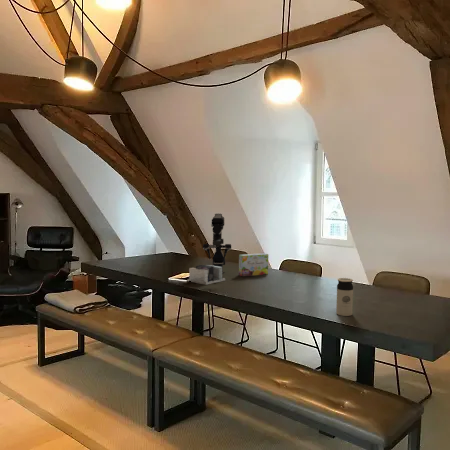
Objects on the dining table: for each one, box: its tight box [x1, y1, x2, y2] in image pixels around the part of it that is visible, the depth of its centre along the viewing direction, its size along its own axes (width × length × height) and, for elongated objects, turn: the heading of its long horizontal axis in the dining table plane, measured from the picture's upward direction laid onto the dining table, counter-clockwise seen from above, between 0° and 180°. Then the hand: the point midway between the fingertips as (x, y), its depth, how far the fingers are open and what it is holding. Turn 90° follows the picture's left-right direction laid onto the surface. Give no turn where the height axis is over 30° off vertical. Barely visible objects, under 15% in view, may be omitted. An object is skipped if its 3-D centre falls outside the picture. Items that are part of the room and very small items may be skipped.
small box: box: [195, 264, 214, 282], centre depth 334 cm, size 11×6×10 cm, turn 61°
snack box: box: [238, 252, 269, 277], centre depth 357 cm, size 21×6×15 cm, turn 114°
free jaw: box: [207, 264, 223, 280], centre depth 340 cm, size 3×13×9 cm, turn 49°
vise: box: [187, 267, 226, 285], centre depth 335 cm, size 19×17×9 cm
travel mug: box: [336, 277, 354, 317], centre depth 253 cm, size 8×8×18 cm
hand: (217, 259), depth 328 cm, fingers open, 9 cm apart
